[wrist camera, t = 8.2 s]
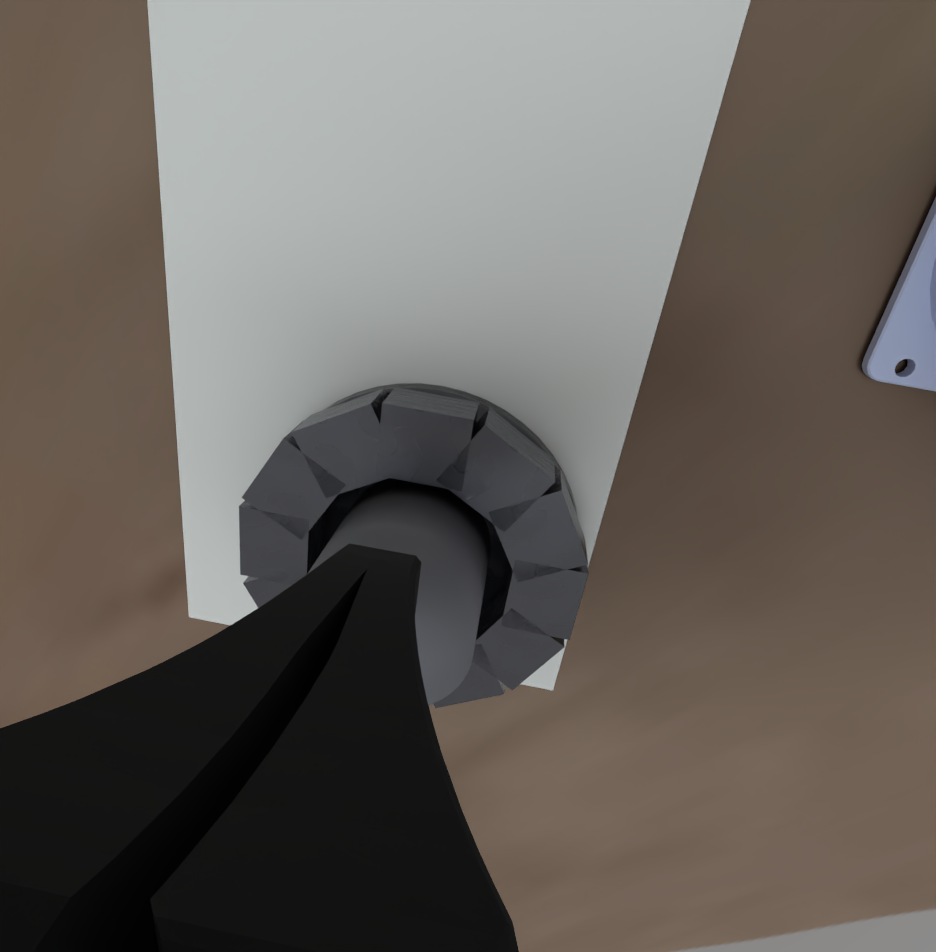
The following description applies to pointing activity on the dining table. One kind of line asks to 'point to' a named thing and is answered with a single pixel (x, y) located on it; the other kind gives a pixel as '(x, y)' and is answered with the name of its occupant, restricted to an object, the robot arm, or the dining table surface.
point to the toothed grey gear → (441, 465)
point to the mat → (419, 222)
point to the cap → (428, 568)
